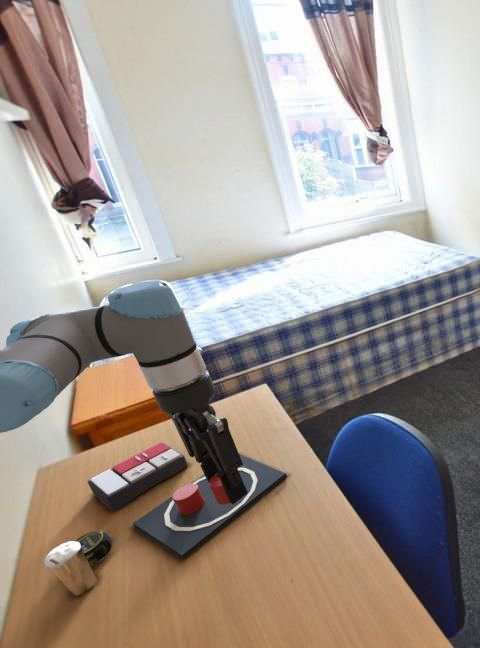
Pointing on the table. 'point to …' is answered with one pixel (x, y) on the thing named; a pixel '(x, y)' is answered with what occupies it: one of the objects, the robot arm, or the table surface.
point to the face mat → (206, 510)
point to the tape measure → (95, 545)
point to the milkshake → (71, 567)
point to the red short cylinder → (218, 490)
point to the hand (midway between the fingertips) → (230, 493)
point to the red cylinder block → (188, 499)
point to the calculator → (136, 475)
